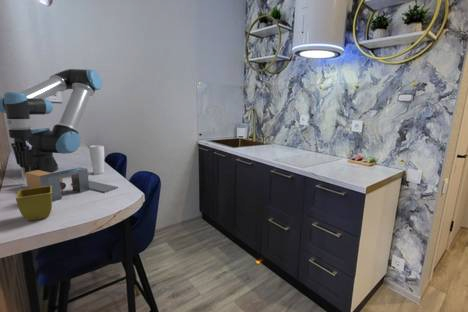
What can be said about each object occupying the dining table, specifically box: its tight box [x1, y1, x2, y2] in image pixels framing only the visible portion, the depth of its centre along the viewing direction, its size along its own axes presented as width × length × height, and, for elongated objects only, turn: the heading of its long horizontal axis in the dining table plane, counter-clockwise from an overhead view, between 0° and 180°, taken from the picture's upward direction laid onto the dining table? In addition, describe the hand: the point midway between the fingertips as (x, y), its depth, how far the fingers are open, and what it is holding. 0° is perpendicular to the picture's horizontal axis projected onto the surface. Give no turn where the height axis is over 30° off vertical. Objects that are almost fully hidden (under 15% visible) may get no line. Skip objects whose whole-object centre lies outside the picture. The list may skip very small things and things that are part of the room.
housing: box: [40, 166, 90, 203], centre depth 99 cm, size 5×16×10 cm, turn 156°
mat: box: [70, 179, 119, 194], centre depth 111 cm, size 22×7×1 cm, turn 66°
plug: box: [25, 170, 67, 192], centre depth 105 cm, size 21×5×7 cm, turn 66°
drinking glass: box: [89, 144, 105, 175], centre depth 131 cm, size 7×7×15 cm
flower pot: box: [15, 186, 53, 222], centre depth 79 cm, size 9×9×9 cm
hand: (27, 180), depth 111 cm, fingers closed
